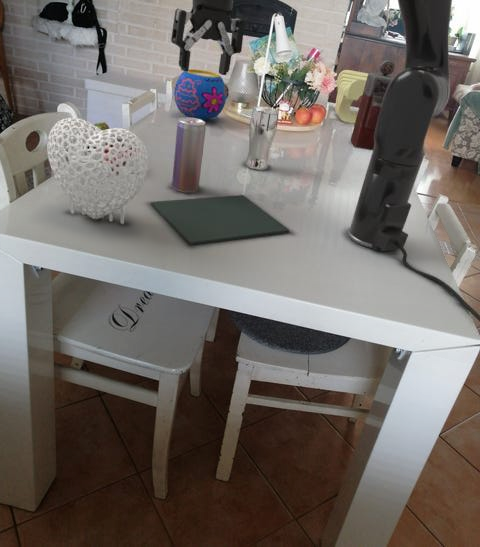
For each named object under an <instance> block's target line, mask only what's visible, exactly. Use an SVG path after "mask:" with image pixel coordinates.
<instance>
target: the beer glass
mask: <svg viewBox="0 0 480 547" xmlns="http://www.w3.org/2000/svg"><path fill="white" fill-rule="evenodd" d="M279 113H280V111H279V110H278V109H276V108H273V107H270V106H269V107H268V106H263V105H255V106H253V110H252V113H251V116H250V123H249V131H248V132H249V134H248V143H249V144H248V148H249V149H248V154H247V158H246V160H245V167H247V168H249V169H251V170H257V171H264V170H268V167H269V166H268V164H269V163H268V162H269V154H270V149H271V147H272V145H273V142H274V139H275V136H276V133H277V129H278V122H279Z"/></svg>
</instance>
